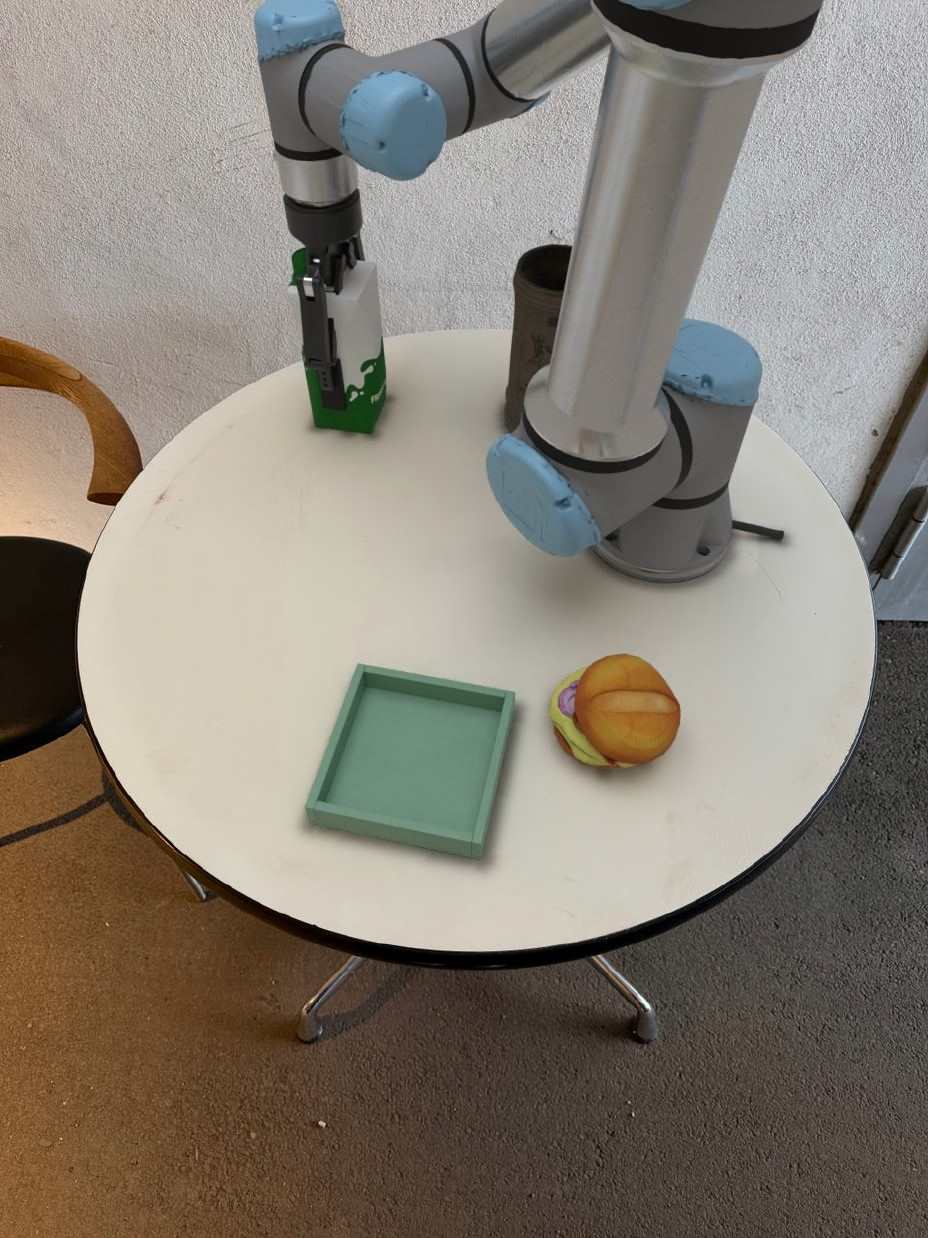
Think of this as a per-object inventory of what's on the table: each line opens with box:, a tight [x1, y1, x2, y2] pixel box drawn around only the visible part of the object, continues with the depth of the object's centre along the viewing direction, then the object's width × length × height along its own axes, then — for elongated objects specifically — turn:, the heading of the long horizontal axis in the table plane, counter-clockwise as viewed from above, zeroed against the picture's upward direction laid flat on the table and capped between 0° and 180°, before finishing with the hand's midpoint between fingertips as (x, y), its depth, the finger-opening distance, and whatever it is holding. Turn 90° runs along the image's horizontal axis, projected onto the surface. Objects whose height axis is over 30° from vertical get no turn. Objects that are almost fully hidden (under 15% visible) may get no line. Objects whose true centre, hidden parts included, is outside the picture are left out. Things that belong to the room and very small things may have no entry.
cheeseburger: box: [548, 653, 682, 770], centre depth 74 cm, size 10×11×10 cm
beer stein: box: [503, 243, 573, 433], centre depth 96 cm, size 15×11×20 cm
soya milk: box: [285, 246, 387, 435], centre depth 97 cm, size 9×9×20 cm
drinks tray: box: [304, 662, 516, 860], centre depth 74 cm, size 15×15×3 cm
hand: (347, 382), depth 101 cm, fingers closed on soya milk, 9 cm apart
